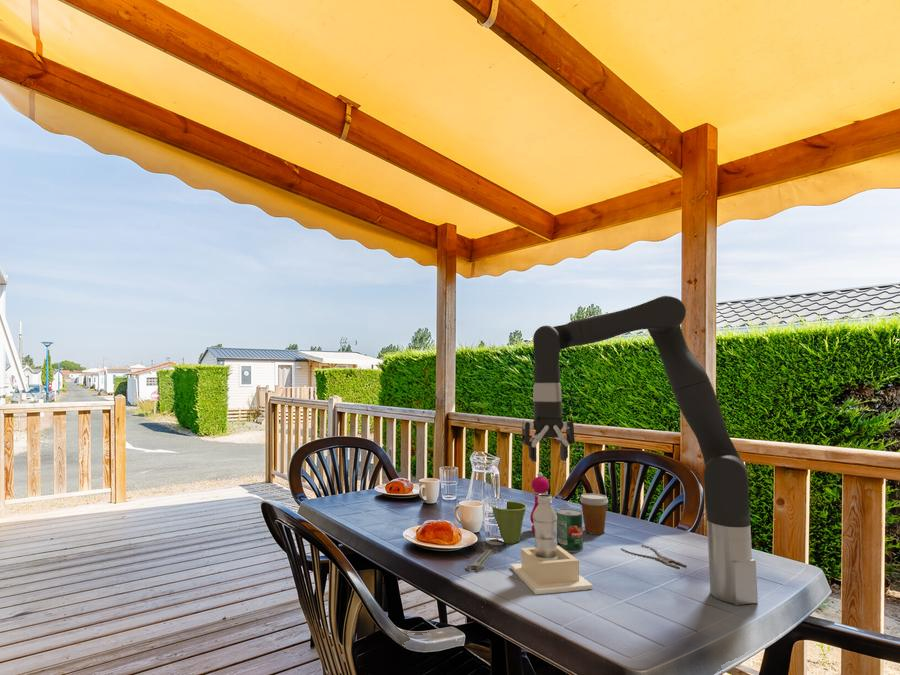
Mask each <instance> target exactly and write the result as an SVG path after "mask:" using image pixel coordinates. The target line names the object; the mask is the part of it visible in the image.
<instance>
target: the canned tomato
mask: <svg viewBox="0 0 900 675" xmlns="http://www.w3.org/2000/svg"><path fill="white" fill-rule="evenodd" d="M555 512H556V514H557V525H556V546H560V547H561V548H563V549H564V550H565V551H567V552H568V553H579V552H582V551H583V550H584V544H583V543H584V538H583V512H582V511H581V510H578V509H574V508H573V509H572V508H559V509H557V510H555Z"/></svg>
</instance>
